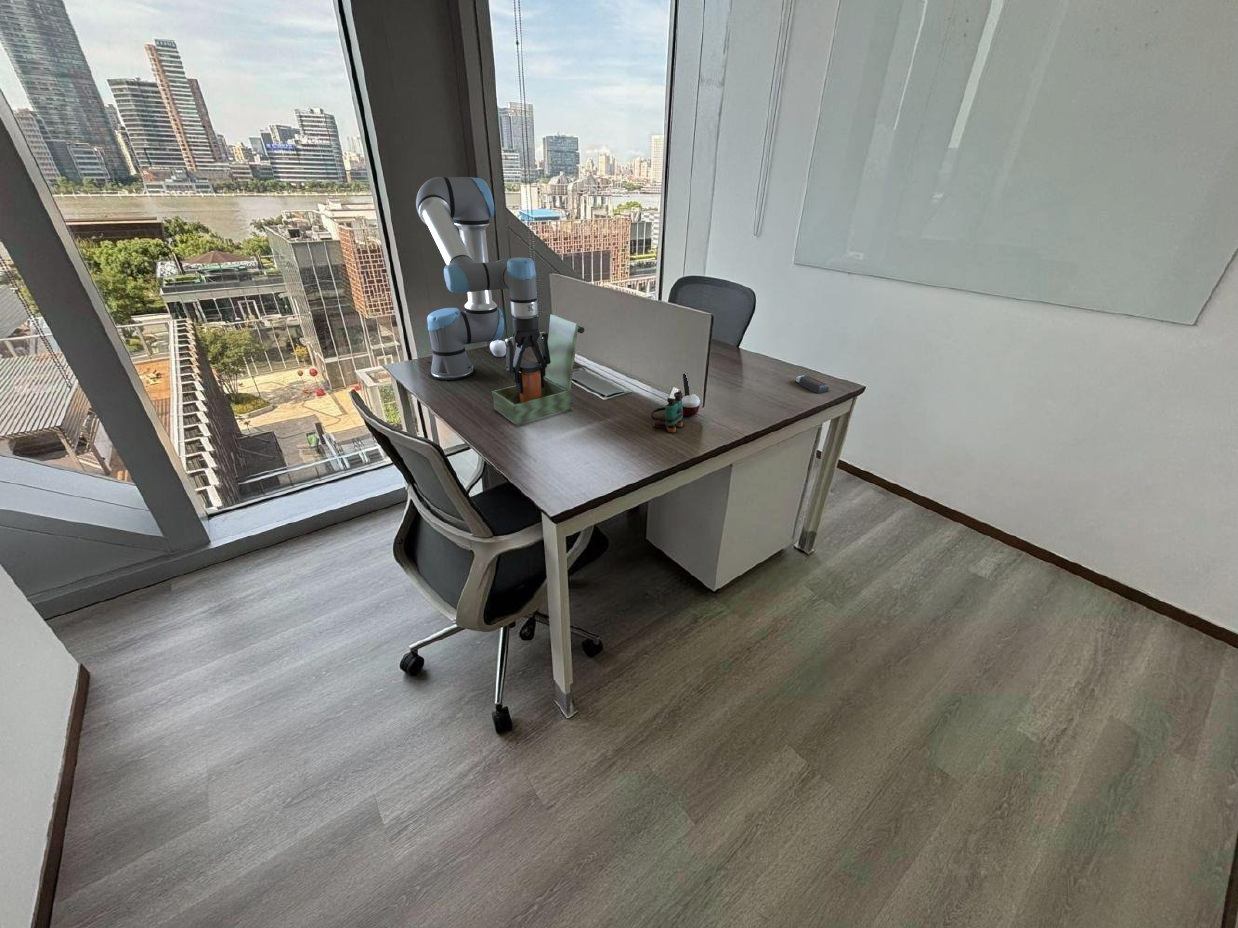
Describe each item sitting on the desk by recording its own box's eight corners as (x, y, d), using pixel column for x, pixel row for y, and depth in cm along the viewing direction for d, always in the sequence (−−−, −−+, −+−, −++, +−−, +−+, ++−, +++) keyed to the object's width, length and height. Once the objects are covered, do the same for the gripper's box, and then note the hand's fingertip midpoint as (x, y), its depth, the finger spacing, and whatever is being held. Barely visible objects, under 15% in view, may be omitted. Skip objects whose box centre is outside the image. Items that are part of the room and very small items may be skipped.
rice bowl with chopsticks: (698, 420, 153) (702, 384, 147) (678, 419, 154) (681, 383, 147) (698, 408, 161) (701, 374, 155) (679, 407, 162) (682, 372, 156)
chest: (516, 426, 147) (514, 406, 144) (494, 410, 157) (492, 390, 154) (570, 410, 158) (569, 391, 154) (546, 396, 168) (545, 377, 164)
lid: (576, 323, 146) (591, 324, 149) (550, 314, 155) (565, 314, 159) (568, 389, 154) (583, 388, 158) (544, 376, 164) (559, 376, 167)
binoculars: (658, 387, 150) (688, 391, 145) (659, 419, 155) (688, 424, 150) (644, 396, 144) (674, 401, 139) (645, 429, 149) (675, 435, 144)
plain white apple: (493, 352, 208) (491, 334, 204) (510, 353, 208) (508, 334, 203) (488, 357, 202) (486, 338, 198) (505, 358, 202) (503, 339, 197)
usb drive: (817, 393, 174) (819, 386, 173) (793, 382, 184) (795, 375, 182) (828, 391, 176) (830, 384, 175) (804, 380, 186) (805, 373, 184)
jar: (516, 403, 157) (512, 363, 150) (535, 398, 161) (532, 359, 154) (527, 410, 152) (524, 369, 146) (546, 405, 156) (544, 365, 149)
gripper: (499, 323, 134) (507, 400, 146) (560, 313, 145) (563, 385, 157) (487, 317, 139) (496, 392, 151) (547, 308, 150) (551, 378, 162)
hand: (530, 389), depth 154 cm, fingers closed on jar, 7 cm apart
